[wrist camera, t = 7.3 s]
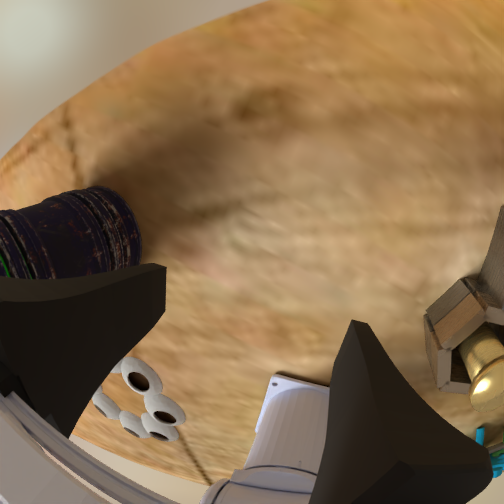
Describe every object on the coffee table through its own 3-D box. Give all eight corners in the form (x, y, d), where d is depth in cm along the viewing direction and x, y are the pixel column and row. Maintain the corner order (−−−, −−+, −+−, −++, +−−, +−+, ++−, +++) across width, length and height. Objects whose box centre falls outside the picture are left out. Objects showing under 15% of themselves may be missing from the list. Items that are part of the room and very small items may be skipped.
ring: (172, 353, 28) (163, 365, 26) (197, 454, 34) (192, 464, 32) (55, 315, 33) (46, 321, 31) (95, 411, 39) (89, 418, 38)
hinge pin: (470, 345, 18) (500, 412, 11) (434, 337, 19) (459, 409, 12) (492, 304, 17) (535, 365, 10) (456, 293, 18) (497, 358, 10)
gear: (423, 476, 22) (460, 496, 14) (427, 434, 25) (468, 443, 16) (490, 455, 21) (534, 462, 12) (494, 416, 23) (540, 414, 15)
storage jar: (65, 251, 28) (-45, 308, 14) (80, 168, 24) (-61, 202, 10) (129, 304, 27) (16, 395, 13) (157, 217, 23) (-9, 294, 9)
